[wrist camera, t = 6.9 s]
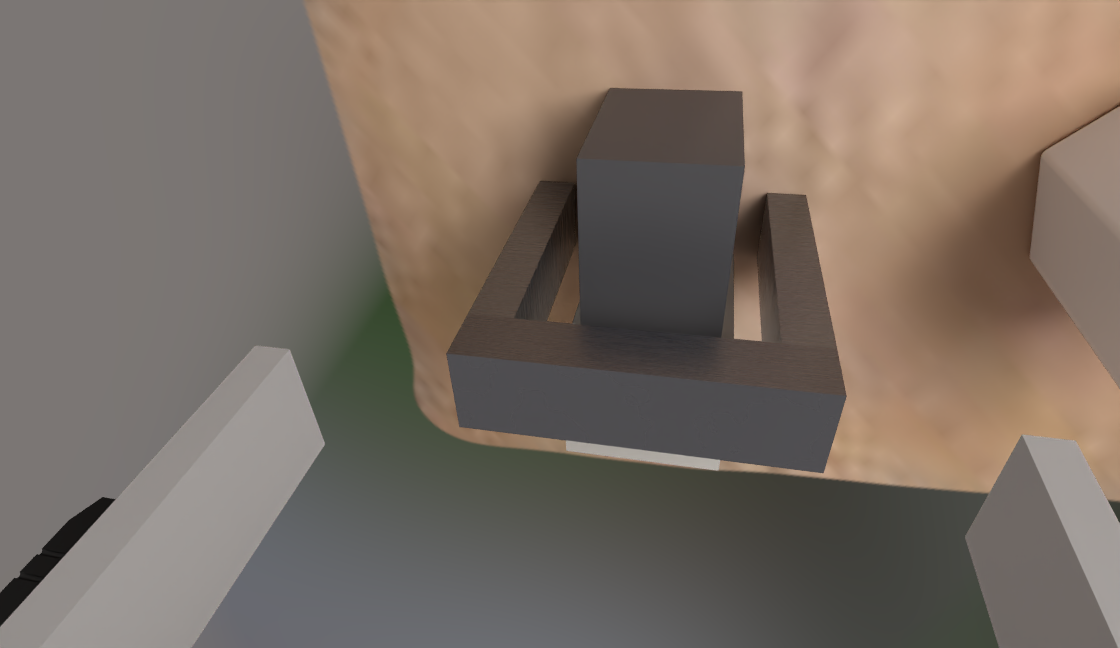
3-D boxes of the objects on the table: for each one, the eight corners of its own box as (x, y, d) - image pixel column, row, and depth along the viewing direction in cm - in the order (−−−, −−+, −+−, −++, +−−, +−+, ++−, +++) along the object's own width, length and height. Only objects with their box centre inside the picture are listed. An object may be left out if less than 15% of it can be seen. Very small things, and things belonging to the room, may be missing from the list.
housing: (539, 180, 29) (446, 353, 19) (806, 195, 27) (846, 395, 17) (543, 241, 30) (459, 426, 21) (793, 259, 28) (823, 473, 19)
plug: (597, 87, 26) (553, 170, 20) (755, 91, 25) (763, 181, 18) (598, 355, 34) (567, 475, 28) (718, 368, 33) (714, 495, 26)
